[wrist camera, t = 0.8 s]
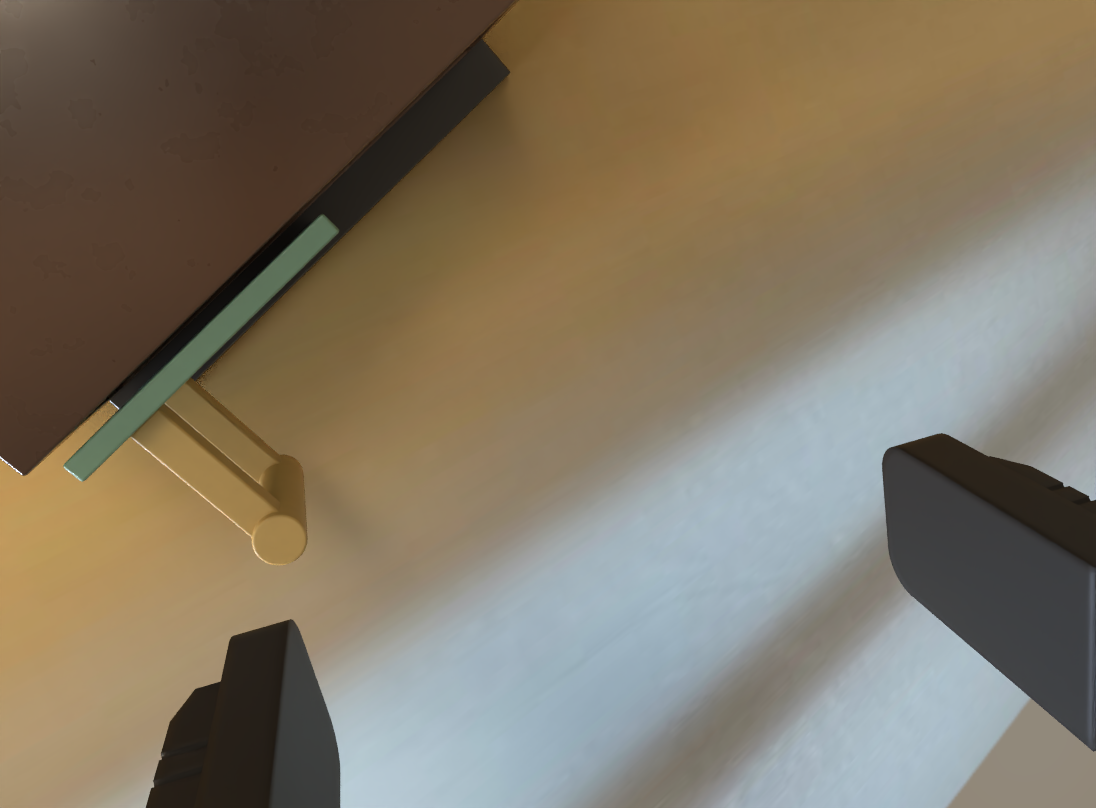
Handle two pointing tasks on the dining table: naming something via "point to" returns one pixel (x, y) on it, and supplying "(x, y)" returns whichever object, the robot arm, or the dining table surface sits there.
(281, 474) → the door
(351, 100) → the cabinet
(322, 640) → the dining table surface
